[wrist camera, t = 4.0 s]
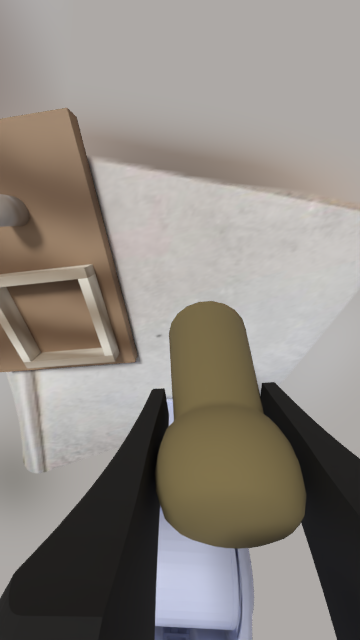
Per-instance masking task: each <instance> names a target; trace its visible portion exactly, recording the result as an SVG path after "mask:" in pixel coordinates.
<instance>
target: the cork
mask: <svg viewBox="0 0 360 640" xmlns="http://www.w3.org/2000/svg"><path fill="white" fill-rule="evenodd" d="M169 340H170V359H171V378H172V396H173V415H174V422H173V423H172V424H171V425H170V426H169V427H168V428H167V429H166V432H165V434H164V437H163V439H162V442H161V445H160V448H159V452H158V455H157V461H156V467H155V485H156V493H157V496H158V500H159V503H160V506H161V509H162V512H163V515H164V518H165V520H166V521H167V522H168V523H169V524H170V525H171V526H172V527H173V528H174V529H175V530H176V531H178V532H179V533H180V534H181V535H183V536H185V537H187V538H189V539H191V540H194V541H198V542H201V543H204V544H208V545H211V546H215V547H222V548H235V549H240V548H252V547H258V546H262V545H266V544H270V543H273V542H276V541H278V540H281V539H284V538H285V537H287V536H289V535H290V534H291V533H293V532H294V531H295V529H296V528H297V527H298V526H299V525H300V523H301V521H302V519H303V517H304V515H305V506H306V490H305V485H304V480H303V476H302V472H301V468H300V464H299V461H298V459H297V457H296V455H295V452H294V450H293V448H292V446H291V444H290V442H289V441H288V439H287V438H286V437H285V435H284V434H283V432H282V431H281V430H280V428H279V427H278V426H277V425H276V424H275V423H274V422H273V421H272V420H271V419H270V418H269V417H267V416H266V415H264V412H263V407H262V402H261V398H260V393H259V389H258V384H257V379H256V375H255V370H254V366H253V361H252V356H251V352H250V347H249V343H248V338H247V334H246V329H245V326H244V323H243V320H242V318H241V317H240V316H239V314H238V313H237V312H236V311H235V310H234V309H232V308H231V307H229V306H227V305H225V304H222V303H218V302H214V301H207V302H198V303H195V304H193V305H190V306H187V307H186V308H185V309H183V310H182V311H181V312H179V313H178V314H177V316H176V317H175V319H174V320H173V322H172V323H171V327H170V332H169Z"/></svg>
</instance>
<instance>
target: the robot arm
mask: <svg viewBox="0 0 360 640" xmlns="http://www.w3.org/2000/svg"><path fill="white" fill-rule="evenodd" d="M260 398H261V402H262V407H263V412H264V415H266V416H267V417H269V418H270V419H271V420H272V421H273V422H274V423H275V424H276V425H277V426H278V427H279V428H280V430H281V431H282V432H283V434H284V435H285V437H286V438H287V439H288V441H289V442H290V444H291V446H292V448H293V450H294V452H295V455H296V457H297V459H298V461H299V464H300V468H301V472H302V476H303V480H304V485H305V490H306V506H305V515H304V517H303V519H302V521H301V523H302V526H303V529H304V532H305V535H306V538H307V541H308V544H309V547H310V550H311V554H312V557H313V560H314V563H315V567H316V570H317V573H318V576H319V579H320V583H321V586H322V589H323V592H324V596H325V599H326V602H327V606H328V609H329V613H330V616H331V620H332V623H333V626H334V630H335V634H336V637H337V640H360V459H359V458H358V457H357V456H356V455H354V454H353V453H352V452H350V451H349V450H348V449H347V448H345V447H344V446H343V445H342V444H341V443H339V442H338V441H337V440H335V438H333V437H332V436H331V435H330V434H328V433H327V432H326V431H325V430H324V429H323V428H322V427H321V426H319V425H318V424H317V423H316V422H315V421H314V420H313V419H312V418H311V417H310V416H308V415H307V414H306V413H305V412H304V411H303V410H302V409H301V408H300V407H299V406H298V405H297V404H296V403H295V402H294V401H293V400H292V399H291V398H290V397H289V396H287V394H286V393H285V392H284V391H283V390H282V389H281V388H280V387H279V386H278V385H277V384H276V383H274V382H271V383H262V388H261V396H260ZM173 422H174V415H173V399H166V394H165V389H153V390H152V391H151V393H150V395H149V398H148V400H147V402H146V404H145V406H144V408H143V410H142V412H141V413H140V415H139V417H138V419H137V421H136V422H135V424H134V426H133V428H132V429H131V431H130V433H129V434H128V436H127V437H126V439H125V441H124V442H123V444H122V445H121V447H120V448H119V450H118V452H117V453H116V455H115V456H114V457H113V459H112V460H111V462H110V463H109V465H108V466H107V467H106V469H105V470H104V471H103V473H102V474H101V475H100V477H99V478H98V479H97V480H96V482H95V483H94V484H93V486H92V487H91V488H90V489H89V491H88V492H87V493H86V494H85V496H84V497H83V498H82V499H81V501H80V502H79V503H78V504H77V505H76V506H75V507H74V509H73V510H72V511H71V512H70V513H69V514H68V516H67V517H66V518H65V519H64V520H63V521H62V522H61V524H60V525H59V526H58V527H57V528H56V529H55V530H54V531H53V533H52V534H51V535H50V536H49V537H48V538H47V539H46V540H45V541H44V542H43V543H42V544H41V545H40V546H39V547H38V549H37V550H36V551H35V552H34V553H33V554H32V555H31V556H30V557H29V558H28V559H27V560H26V561H25V563H23V564H22V565H21V567H19V569H18V570H17V571H16V572H15V573H14V575H13V577H12V578H11V580H10V582H9V584H8V586H7V587H6V589H5V591H4V593H3V594H2V596H1V598H0V640H252V614H253V606H254V587H253V575H252V567H251V560H250V554H249V549H248V548H240V549H235V548H222V547H215V546H211V545H208V544H204V543H201V542H198V541H194V540H191V539H189V538H187V537H185V536H183V535H181V534H180V533H179V532H178V531H176V530H175V529H174V528H173V527H172V526H171V525H170V524H169V523H168V522H167V521H166V520H165V518H164V515H163V512H162V509H161V506H160V503H159V500H158V496H157V493H156V485H155V467H156V461H157V455H158V452H159V448H160V445H161V442H162V439H163V437H164V434H165V432H166V429H167V428H168V427H169V426H170V425H171V424H172V423H173Z"/></svg>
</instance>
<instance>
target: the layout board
mask: <svg viewBox="0 0 360 640" xmlns="http://www.w3.org/2000/svg"><path fill="white" fill-rule="evenodd" d="M136 358H137V351H136V347H135V343H134V339H133V336H132V332H131V328H130V324H129V320H128V316H127V312H126V308H125V304H124V300H123V297H122V293H121V289H120V285H119V281H118V277H117V273H116V269H115V265H114V261H113V257H112V254H111V250H110V246H109V242H108V238H107V234H106V230H105V226H104V222H103V218H102V215H101V211H100V207H99V203H98V199H97V195H96V191H95V187H94V183H93V179H92V175H91V172H90V168H89V164H88V160H87V156H86V152H85V148H84V145H83V140H82V136H81V133H80V129H79V125H78V121H77V117H76V116H75V115H74V114H73V113H72V112H71V111H70V110H69V109H68V108H62V109H56V110H50V111H45V112H38V113H32V114H26V115H21V116H14V117H9V118H2V119H0V372H11V371H24V370H37V369H51V368H64V367H77V366H90V365H104V364H117V363H130V362H135V361H136Z"/></svg>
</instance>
